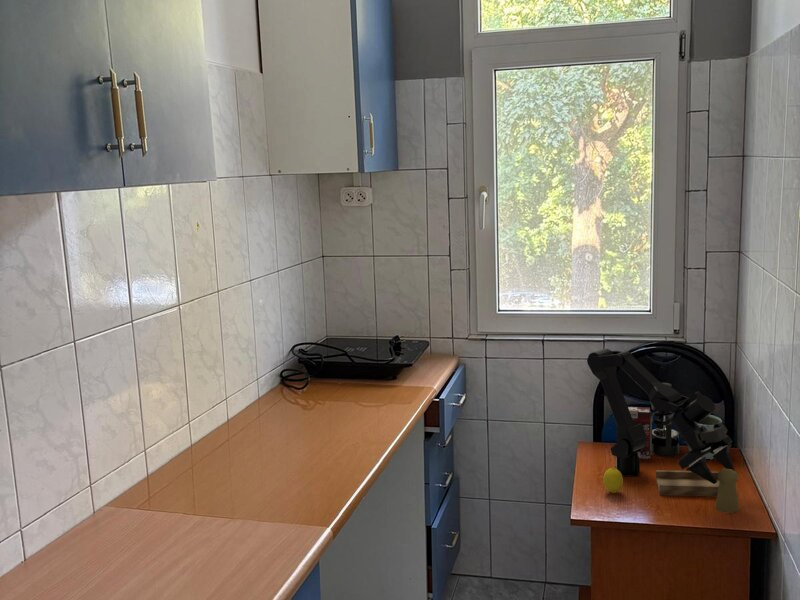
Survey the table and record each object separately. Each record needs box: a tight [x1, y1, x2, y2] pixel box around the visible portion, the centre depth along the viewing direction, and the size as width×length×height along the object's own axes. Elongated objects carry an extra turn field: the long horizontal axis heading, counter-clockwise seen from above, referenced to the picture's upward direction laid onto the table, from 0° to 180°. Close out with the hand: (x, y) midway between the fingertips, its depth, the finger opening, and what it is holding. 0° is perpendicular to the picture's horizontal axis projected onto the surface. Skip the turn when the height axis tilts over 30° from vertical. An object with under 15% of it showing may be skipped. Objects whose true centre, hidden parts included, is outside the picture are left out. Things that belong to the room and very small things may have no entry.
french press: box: [649, 382, 681, 458], centre depth 257 cm, size 12×9×23 cm
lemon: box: [602, 467, 624, 494], centre depth 231 cm, size 6×6×8 cm
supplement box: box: [628, 406, 652, 460], centre depth 255 cm, size 9×5×16 cm, turn 77°
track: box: [655, 469, 720, 498], centre depth 232 cm, size 20×10×3 cm, turn 79°
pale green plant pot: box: [688, 414, 723, 460], centre depth 253 cm, size 10×10×12 cm
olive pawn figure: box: [715, 468, 740, 514], centre depth 218 cm, size 6×6×11 cm
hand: (725, 478), depth 218 cm, fingers open, 9 cm apart
